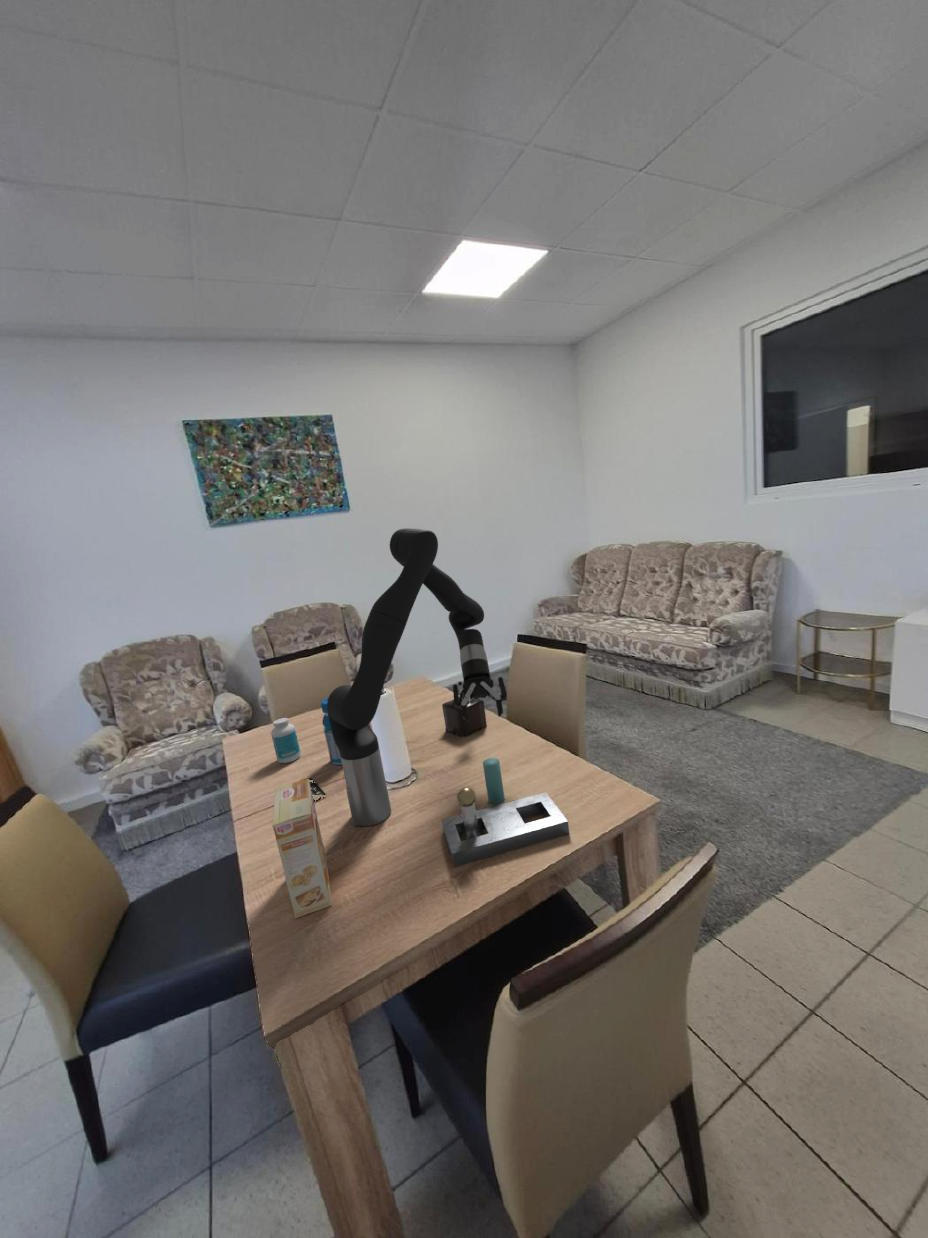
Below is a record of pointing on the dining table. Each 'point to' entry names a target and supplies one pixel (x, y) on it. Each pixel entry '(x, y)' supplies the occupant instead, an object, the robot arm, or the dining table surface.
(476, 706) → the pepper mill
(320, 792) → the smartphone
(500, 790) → the teal peg
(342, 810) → the dining table surface
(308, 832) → the coffeecake box
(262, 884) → the dining table surface
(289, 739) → the pill bottle
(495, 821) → the hole plate
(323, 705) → the beverage bottle
